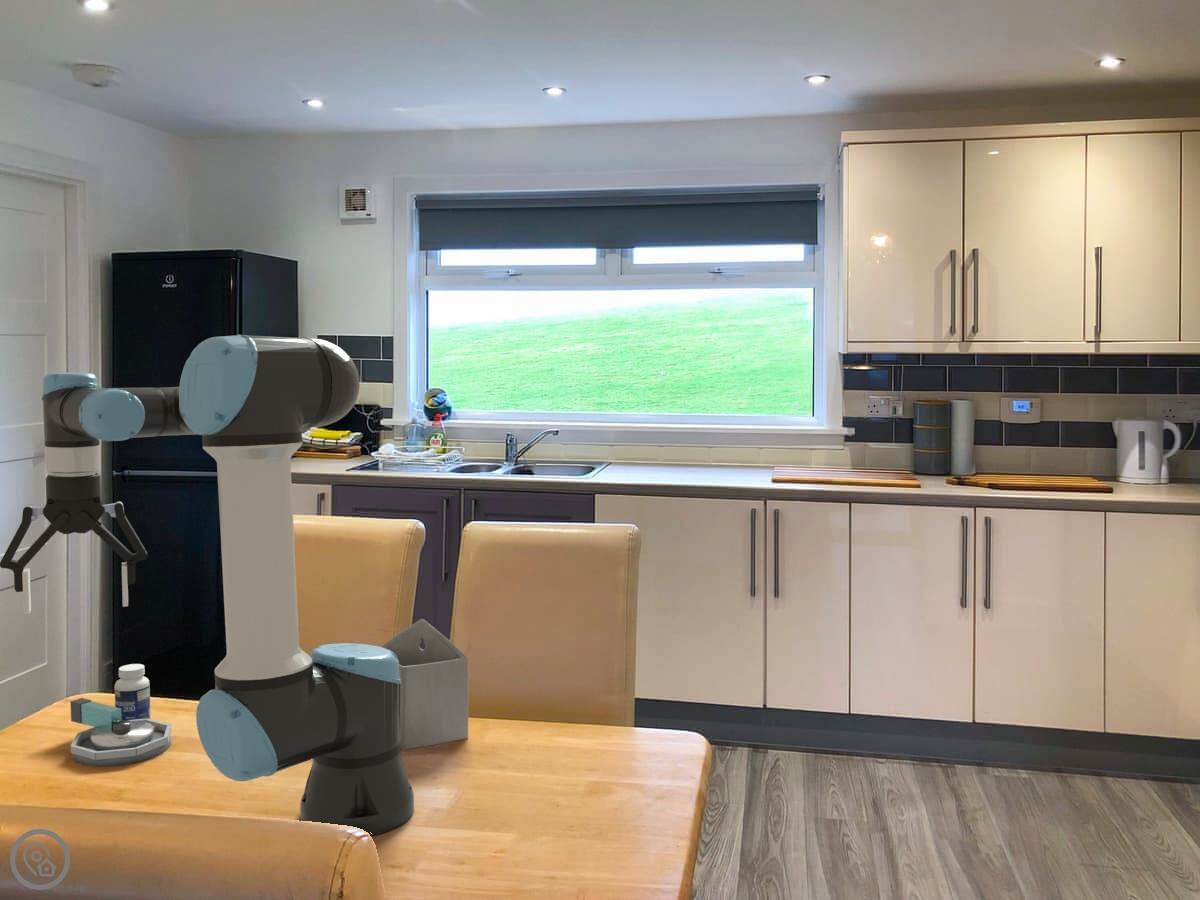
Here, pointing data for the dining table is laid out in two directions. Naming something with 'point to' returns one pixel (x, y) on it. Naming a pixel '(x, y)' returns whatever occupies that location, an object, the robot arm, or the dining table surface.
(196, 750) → the dining table surface
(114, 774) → the dining table surface
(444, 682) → the planter
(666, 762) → the dining table surface
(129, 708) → the pill bottle
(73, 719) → the dial
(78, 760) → the housing
